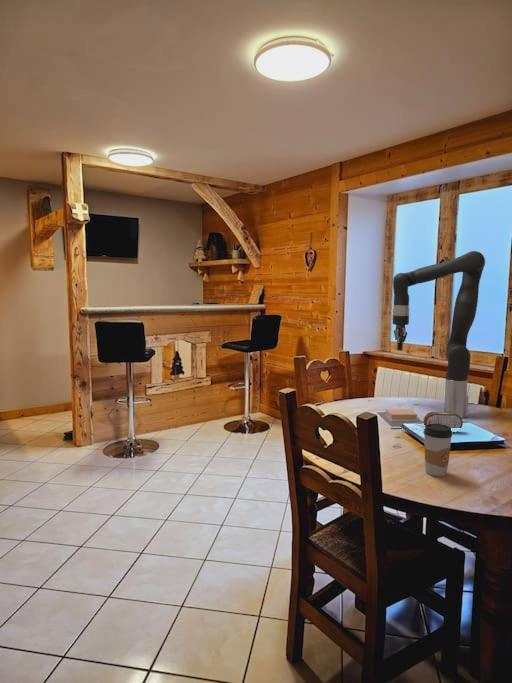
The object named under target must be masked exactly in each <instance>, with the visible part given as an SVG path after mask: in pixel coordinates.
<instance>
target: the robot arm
mask: <svg viewBox="0 0 512 683" xmlns="http://www.w3.org/2000/svg"><path fill="white" fill-rule="evenodd" d="M485 264H486V258H485V256H484V255H483V254H482V253H481V252H480V251H477V250H472V251H469V252H466V253H464V254H462V255H460V256H458V257H455V258H453V259H449V260H446V261H443V262H439V263H435V264H430V265H427V266H423V267H420V268H415V270H412V271H408V272H399V273H396V275H394V276H393V277H394V278H393V279H392V280H393V282H392V284H393V285H392V287H393V288H392V289H393V308H392V325H393V326H395V329H394V330H393V334H394V338H395V341H396V344H397V345H396V350H397V351H403V344H404V343H405V342H406V339H407V336H408V332H407V329H406V326H408V325H409V324H410V294H409V287H412V286H416V285H418V284H422V283H428V282H431V281H435V280H438V279H441V278H444V277H447V276H449V275H454V274H458V273H462V278H461V284H460V286H459V289H458V292H457V295H456V299H455V301H454V302H455V303H454V307H453V314H452V321H451V330H450V335H449V339H448V344H447V347H446V348H445V357H446V359H447V370H446V373H445V385H444V386H445V387H444V388H445V389H444V403H443V404H444V406H443V407H444V408H443V412H454V413H457V414H458V415H459V416H460V417H461V419H463V418H468V417H469V416H468V415H469V414H468V413H469V396H467V395H468V378H469V374H470V369H471V368H470V366H471V352H470V350H469V349H468V348H467V341H468V336H469V332H470V330H471V328H472V326H473V323H474V321H475V317H476V314H477V309H478V302H479V287H480V281H481V279H482V278H481V277H482V274H483V271H484V267H485V266H486V265H485Z"/></svg>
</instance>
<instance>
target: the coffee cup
mask: <svg viewBox="0 0 512 683" xmlns="http://www.w3.org/2000/svg"><path fill="white" fill-rule="evenodd" d="M424 428H425V429H423V430H424V431H423V435H424V465H425V466H424V467H425V468H424V470H425V472H426V474H428V475H430V476H431V477H432V476H433V477H445V476H446V475H447V473H448V468H449V462H450V453H451V443H452V437H453V433H452V431H451V428H450V427H449V426H446V425H442V424H427V425H426V427H424Z"/></svg>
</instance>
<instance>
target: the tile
mask: <svg viewBox="0 0 512 683" xmlns="http://www.w3.org/2000/svg"><path fill="white" fill-rule="evenodd" d="M385 416H386V417H388V418H389V419H390V420H391V421H417V417H418V413H416V412H415V411H413V410H412V409H410V408H385Z"/></svg>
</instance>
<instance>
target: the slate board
mask: <svg viewBox="0 0 512 683" xmlns="http://www.w3.org/2000/svg"><path fill="white" fill-rule="evenodd" d="M385 412H386V411H385ZM385 412H382V411H381V412H380V411H376V413H377V414H378V415H379V416H380V418H382V419H383V421H385V423H387V425H389V426H390V430H403V429H402V428H404V427H403V426H402V424H403V423H424V420H422V419H420V418H419V417H418V416H417V421H391V420H390V419H389V418H388V417H386V416H385Z"/></svg>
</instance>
